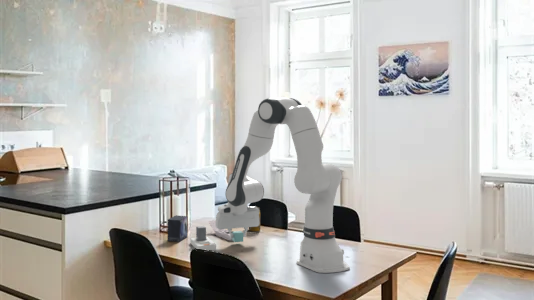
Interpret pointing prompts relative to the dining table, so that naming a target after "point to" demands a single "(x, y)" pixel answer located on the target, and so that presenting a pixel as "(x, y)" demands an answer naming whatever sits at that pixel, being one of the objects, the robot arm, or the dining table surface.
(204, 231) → the block
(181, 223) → the small box
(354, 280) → the dining table surface
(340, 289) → the dining table surface
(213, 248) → the power strip
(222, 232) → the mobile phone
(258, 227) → the condiment
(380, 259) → the dining table surface
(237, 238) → the teal cube
